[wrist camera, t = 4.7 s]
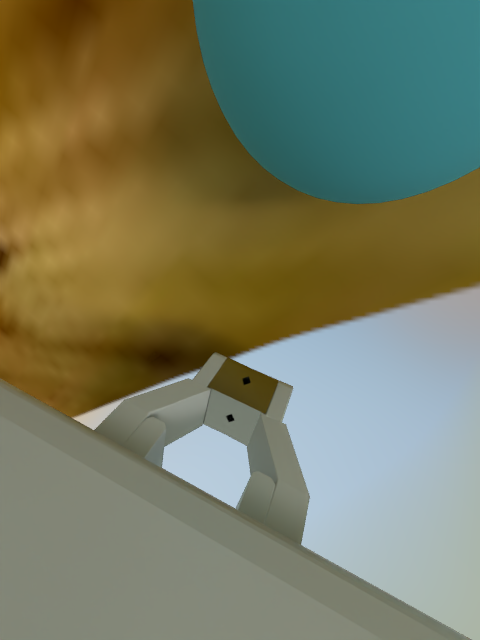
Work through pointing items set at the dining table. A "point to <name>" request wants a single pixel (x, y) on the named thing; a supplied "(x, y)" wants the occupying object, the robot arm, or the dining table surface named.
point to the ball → (349, 91)
